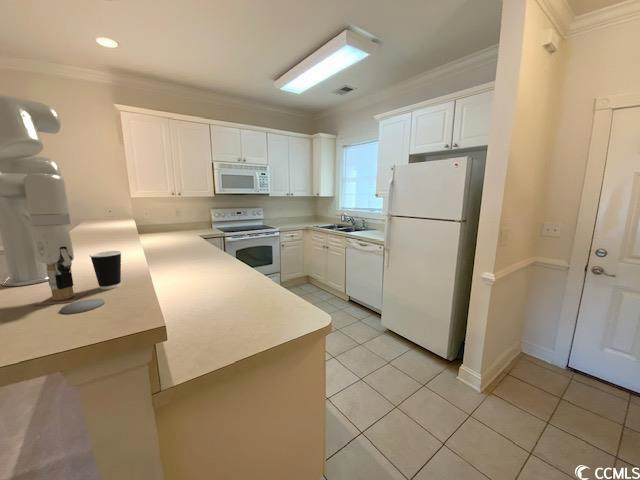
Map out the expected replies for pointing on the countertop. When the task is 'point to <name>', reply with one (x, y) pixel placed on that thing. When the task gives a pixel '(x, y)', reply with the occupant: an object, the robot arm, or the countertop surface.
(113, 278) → the dixie cup
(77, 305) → the coaster
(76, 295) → the tile
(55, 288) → the sprinkles bottle
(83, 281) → the countertop surface
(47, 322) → the countertop surface
